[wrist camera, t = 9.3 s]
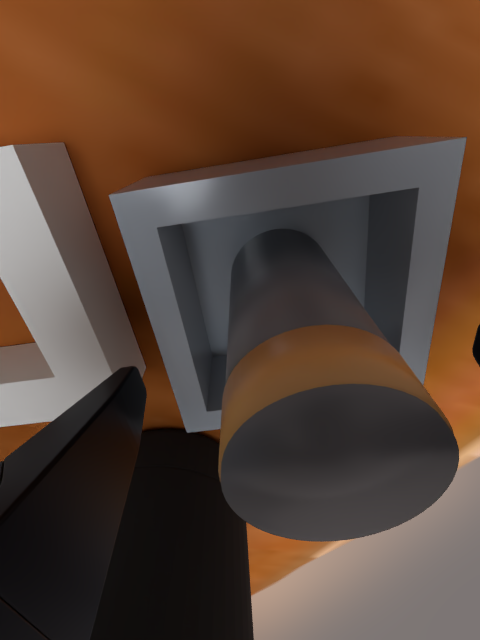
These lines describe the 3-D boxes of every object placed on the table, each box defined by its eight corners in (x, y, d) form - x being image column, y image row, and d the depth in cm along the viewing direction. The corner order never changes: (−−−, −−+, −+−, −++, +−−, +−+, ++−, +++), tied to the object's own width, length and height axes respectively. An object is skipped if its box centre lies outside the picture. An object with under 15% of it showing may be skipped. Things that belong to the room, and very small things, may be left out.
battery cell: (237, 325, 15) (237, 549, 7) (221, 235, 13) (194, 407, 5) (330, 314, 14) (440, 534, 6) (329, 219, 12) (489, 374, 4)
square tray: (197, 369, 16) (186, 432, 13) (145, 177, 12) (108, 194, 8) (379, 346, 16) (419, 406, 12) (396, 135, 11) (466, 137, 8)
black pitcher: (65, 464, 20) (-65, 718, 11) (178, 394, 17) (121, 658, 9) (170, 530, 24) (132, 758, 15) (277, 481, 21) (306, 725, 12)
